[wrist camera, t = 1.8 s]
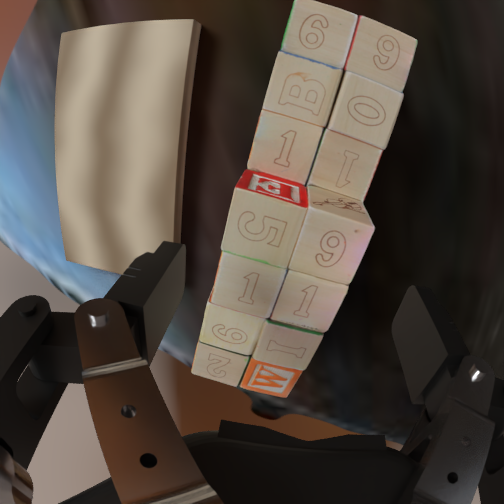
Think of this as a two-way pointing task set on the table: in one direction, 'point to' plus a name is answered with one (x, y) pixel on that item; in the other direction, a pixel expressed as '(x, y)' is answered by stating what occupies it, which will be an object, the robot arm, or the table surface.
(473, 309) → the table surface
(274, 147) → the stack of blocks
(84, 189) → the birch board
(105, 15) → the table surface
